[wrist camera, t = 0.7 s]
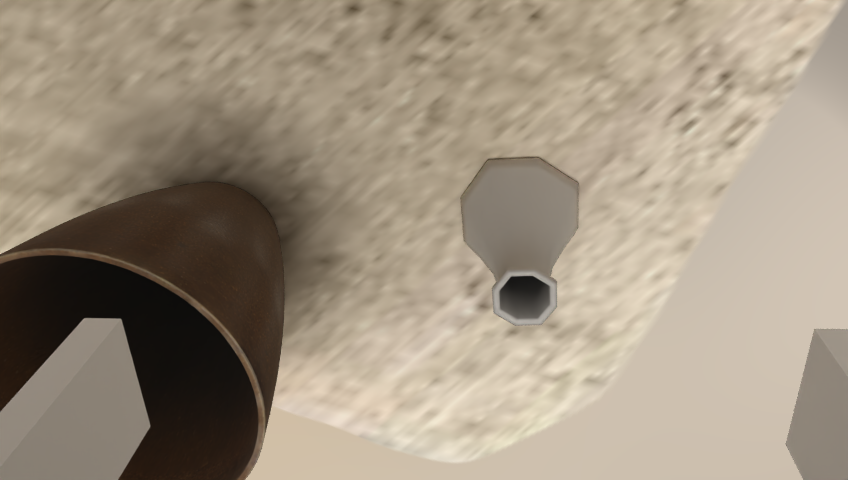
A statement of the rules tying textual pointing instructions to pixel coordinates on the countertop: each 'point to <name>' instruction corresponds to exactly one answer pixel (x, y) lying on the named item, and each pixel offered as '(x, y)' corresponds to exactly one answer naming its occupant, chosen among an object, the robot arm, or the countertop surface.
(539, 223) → the flask
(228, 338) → the plant pot
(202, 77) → the countertop surface
